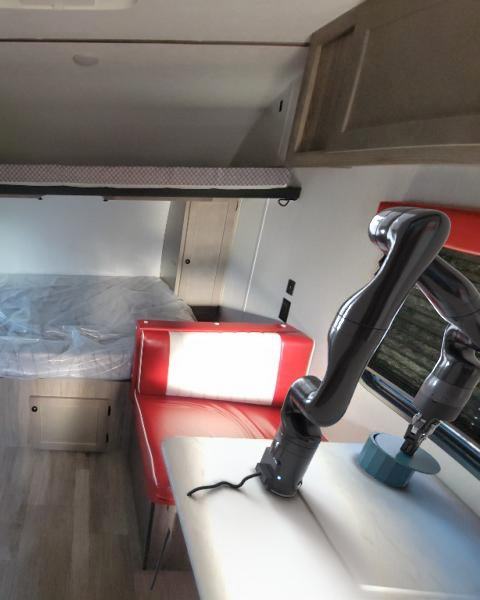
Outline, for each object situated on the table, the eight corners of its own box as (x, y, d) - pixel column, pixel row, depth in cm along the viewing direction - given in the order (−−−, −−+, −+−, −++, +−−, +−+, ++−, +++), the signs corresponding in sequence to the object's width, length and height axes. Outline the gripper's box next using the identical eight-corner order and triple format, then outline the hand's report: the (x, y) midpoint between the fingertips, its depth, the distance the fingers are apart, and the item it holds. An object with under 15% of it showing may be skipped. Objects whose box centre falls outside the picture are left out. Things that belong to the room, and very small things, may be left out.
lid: (401, 473, 80) (414, 454, 77) (362, 434, 91) (371, 416, 89) (453, 479, 80) (467, 460, 77) (407, 439, 91) (418, 422, 89)
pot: (376, 486, 95) (392, 460, 92) (347, 454, 106) (360, 429, 102) (416, 490, 95) (433, 464, 92) (383, 457, 106) (397, 433, 102)
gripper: (432, 380, 85) (400, 433, 91) (410, 392, 78) (377, 448, 85) (474, 398, 79) (436, 453, 85) (453, 413, 72) (415, 471, 79)
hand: (407, 450), depth 85 cm, fingers closed on lid, 2 cm apart
